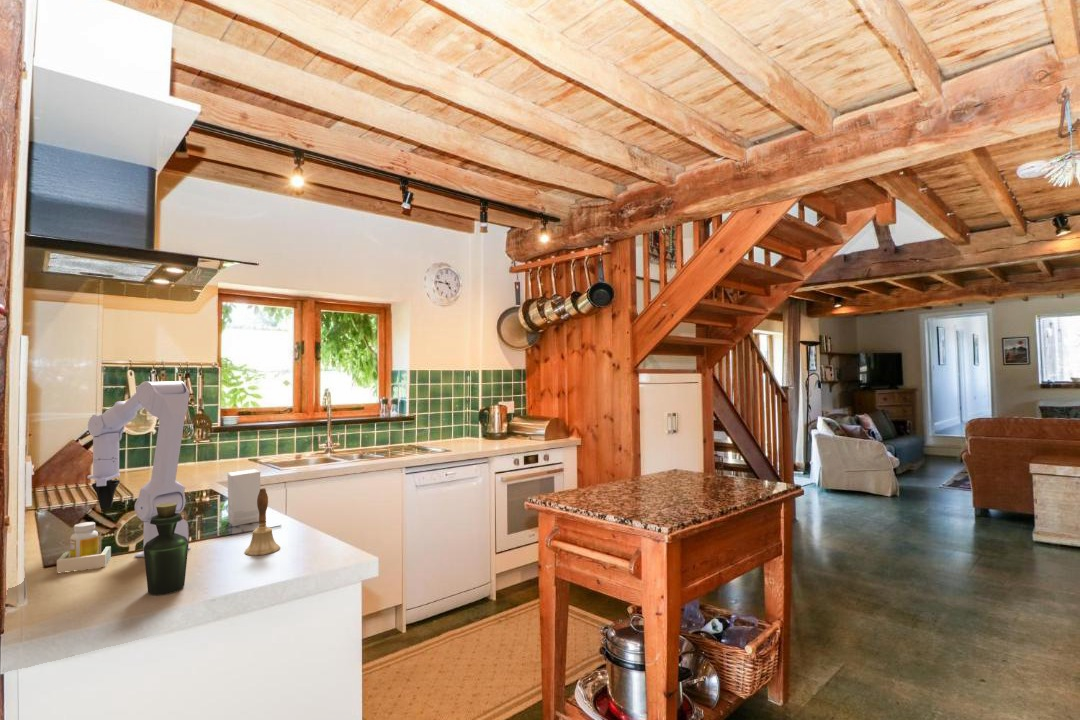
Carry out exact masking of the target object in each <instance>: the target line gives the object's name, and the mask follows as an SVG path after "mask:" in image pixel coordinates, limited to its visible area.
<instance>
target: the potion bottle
mask: <svg viewBox="0 0 1080 720" xmlns="http://www.w3.org/2000/svg"><path fill="white" fill-rule="evenodd" d="M176 507H177V503H164V504H159V505H157V506H156V509H157V513H158V515H156V516H153V517H152V518H151V521H150V524H154V525H156V527H157V531H158V534H159V535H158V536H156V537H154V538H153V539H151V540H150V541H148V542H147V543H146V544H145V546H144V545H143V551H144V557H143V558H144V565H145V566H144V567H145V576H146V584H147V585H146V586H147V587H146V588H147V593H148V594H149V595H150V596H151V595H152V596H161V595H162V596H164V595H169V594H172V593H176V592H178V591H180V590H182V589H183V588H184V586H185V582H186V581H185V580H186V572H187V564H188V563H187V561H188V553H189V549H188V547H189V545H190V544H189V543H190V541H189V539H188V540H187V538H186V537H185V536H182V535H179V534H177V533H174V532H175V528H176V525H177V522H179V521H181V520H182V519H183V517H182V514H181V512H180V513H175V511H176Z"/></svg>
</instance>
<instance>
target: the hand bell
mask: <svg viewBox="0 0 1080 720" xmlns="http://www.w3.org/2000/svg"><path fill="white" fill-rule="evenodd" d="M268 505H269V496H268V493H267V490H266V488H265V487H264V488H260V492H259V494H258V498H257V507H258V510H259V522H258V526H257V528H256V529H254V530H253V531H252V536H251V540H250V544H249V545H248V546H247V547H246V549H245V551H244V554H245V555H246V554H247V556H254V555H255V556H264V555H270V554H272V553H275V552H278V551H279V550H280V549H281V546H280V545H279V543H277V542H276V541H275V539H274V535H273V530H272V528H271V527H268V526H267V516H266V515H267V514H266V513H267V509H268Z"/></svg>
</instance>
